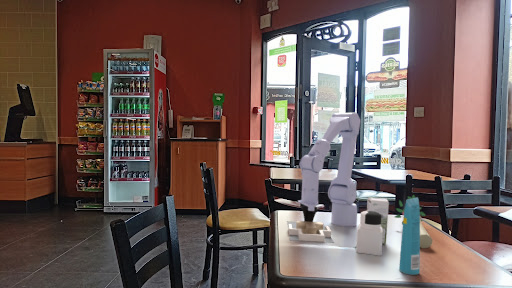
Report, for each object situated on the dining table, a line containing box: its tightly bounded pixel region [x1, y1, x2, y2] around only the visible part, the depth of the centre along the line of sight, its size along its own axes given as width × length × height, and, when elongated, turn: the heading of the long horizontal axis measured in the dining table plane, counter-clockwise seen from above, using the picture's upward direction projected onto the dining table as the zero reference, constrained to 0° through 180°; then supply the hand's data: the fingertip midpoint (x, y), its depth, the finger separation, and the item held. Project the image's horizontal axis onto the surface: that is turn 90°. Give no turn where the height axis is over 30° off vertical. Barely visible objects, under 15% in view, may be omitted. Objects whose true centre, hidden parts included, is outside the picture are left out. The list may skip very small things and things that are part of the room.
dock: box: [287, 224, 332, 243], centre depth 122 cm, size 14×13×2 cm
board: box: [286, 221, 335, 245], centre depth 128 cm, size 14×26×1 cm, turn 177°
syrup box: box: [366, 196, 390, 245], centre depth 121 cm, size 6×6×14 cm
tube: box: [398, 196, 421, 276], centre depth 94 cm, size 7×5×19 cm, turn 140°
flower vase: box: [394, 194, 433, 249], centre depth 133 cm, size 12×12×35 cm
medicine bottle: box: [355, 210, 383, 257], centre depth 110 cm, size 7×7×12 cm
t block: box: [295, 220, 324, 234], centre depth 122 cm, size 9×9×4 cm
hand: (308, 227), depth 128 cm, fingers closed
